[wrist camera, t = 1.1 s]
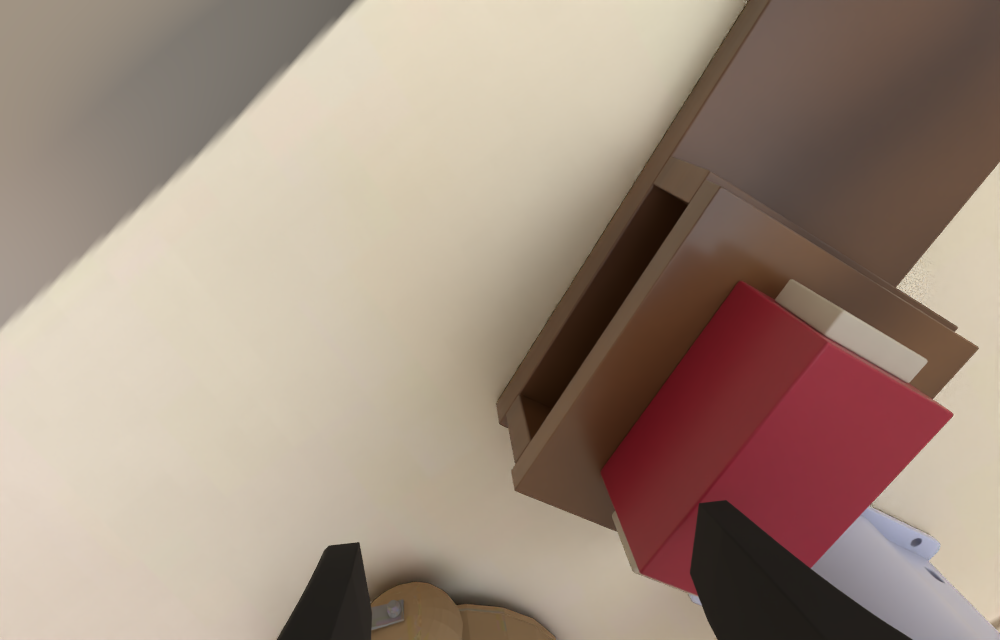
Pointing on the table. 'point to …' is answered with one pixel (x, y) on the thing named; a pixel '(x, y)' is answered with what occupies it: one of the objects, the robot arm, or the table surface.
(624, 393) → the step shelf
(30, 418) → the table surface
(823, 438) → the red box with cap
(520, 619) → the alarm clock
